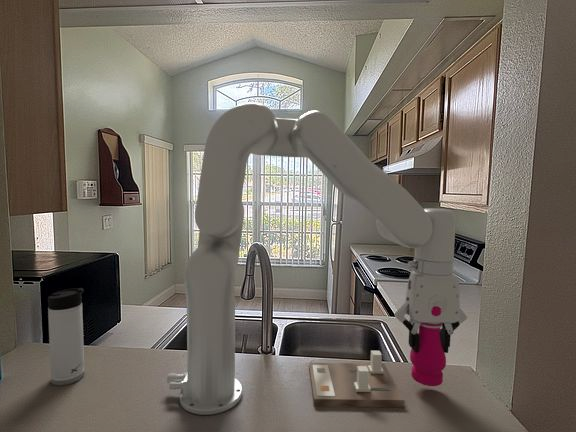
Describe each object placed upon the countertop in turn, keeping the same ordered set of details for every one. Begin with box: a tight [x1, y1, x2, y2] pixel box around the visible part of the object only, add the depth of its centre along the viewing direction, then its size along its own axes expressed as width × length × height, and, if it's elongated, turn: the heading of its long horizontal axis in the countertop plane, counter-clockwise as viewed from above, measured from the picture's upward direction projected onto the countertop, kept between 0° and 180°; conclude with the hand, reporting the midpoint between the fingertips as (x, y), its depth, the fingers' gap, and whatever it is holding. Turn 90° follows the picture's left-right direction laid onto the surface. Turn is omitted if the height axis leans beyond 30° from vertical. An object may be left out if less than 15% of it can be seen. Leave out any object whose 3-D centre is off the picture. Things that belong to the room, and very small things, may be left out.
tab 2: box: [368, 350, 384, 374], centre depth 78 cm, size 3×2×4 cm
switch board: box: [308, 362, 405, 408], centre depth 75 cm, size 18×14×2 cm
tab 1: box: [354, 366, 371, 392], centre depth 71 cm, size 3×2×4 cm
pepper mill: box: [409, 306, 447, 387], centre depth 73 cm, size 7×7×20 cm
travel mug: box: [47, 287, 85, 386], centre depth 75 cm, size 6×7×20 cm
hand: (428, 349), depth 73 cm, fingers closed on pepper mill, 5 cm apart
